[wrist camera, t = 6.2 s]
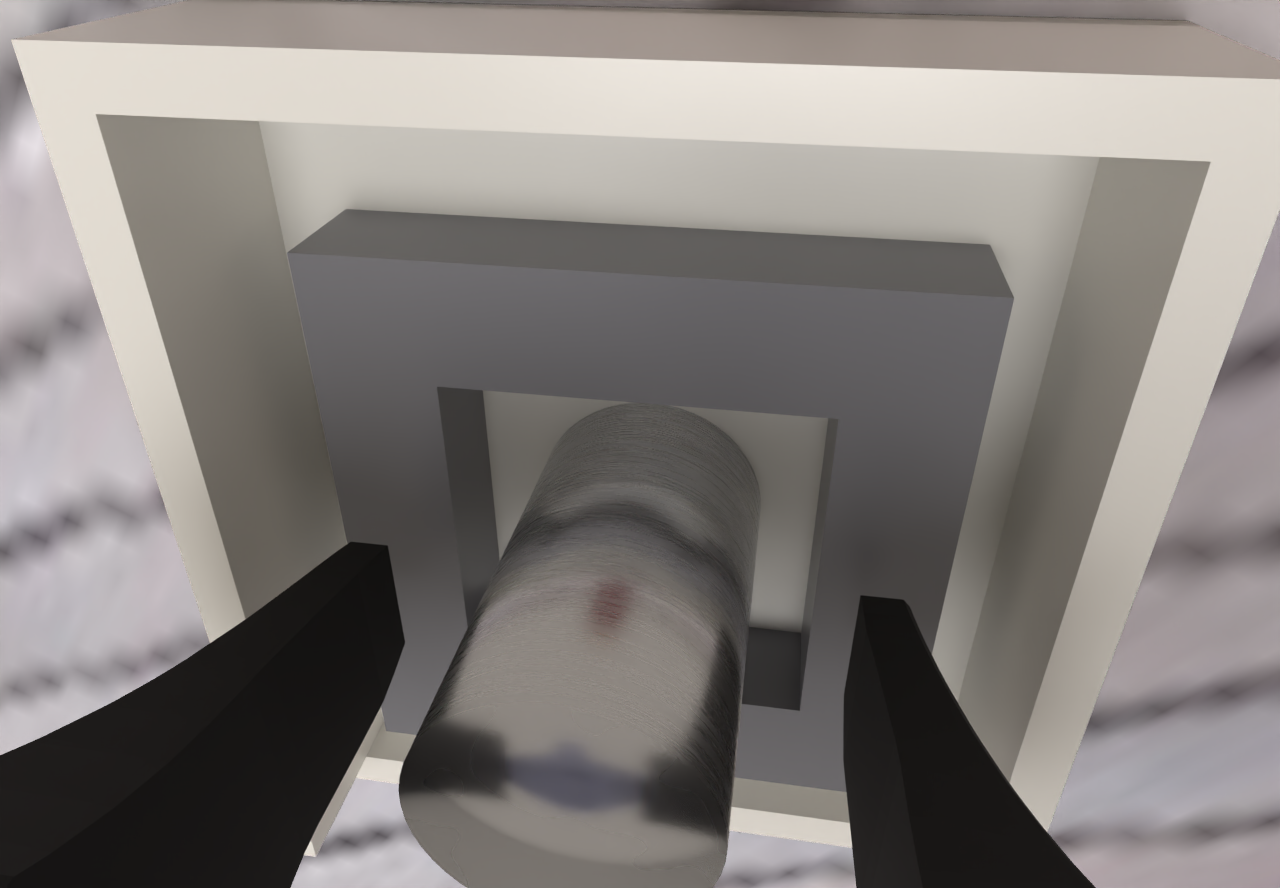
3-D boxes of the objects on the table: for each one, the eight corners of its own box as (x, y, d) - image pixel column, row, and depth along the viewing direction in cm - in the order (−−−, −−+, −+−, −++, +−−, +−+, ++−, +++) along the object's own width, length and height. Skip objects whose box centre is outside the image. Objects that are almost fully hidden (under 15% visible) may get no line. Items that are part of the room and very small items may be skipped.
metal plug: (765, 409, 16) (732, 727, 10) (756, 593, 18) (722, 948, 12) (535, 395, 16) (372, 686, 10) (551, 575, 18) (423, 903, 12)
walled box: (1188, 20, 12) (1328, 80, 9) (961, 803, 21) (990, 985, 17) (202, -3, 14) (10, 39, 11) (365, 724, 23) (286, 875, 19)
